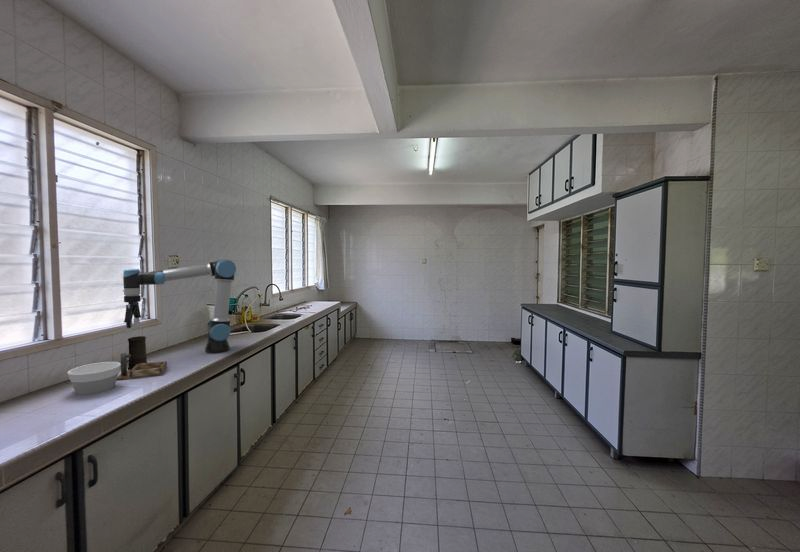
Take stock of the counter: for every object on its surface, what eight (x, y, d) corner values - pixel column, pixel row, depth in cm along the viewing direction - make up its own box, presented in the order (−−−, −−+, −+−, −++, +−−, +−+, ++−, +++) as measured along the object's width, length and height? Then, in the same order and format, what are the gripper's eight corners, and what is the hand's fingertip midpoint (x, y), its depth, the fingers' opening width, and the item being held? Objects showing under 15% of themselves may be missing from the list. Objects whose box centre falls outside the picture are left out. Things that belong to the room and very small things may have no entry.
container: (151, 365, 194) (150, 336, 194) (138, 370, 186) (137, 339, 185) (137, 365, 195) (137, 335, 195) (123, 369, 186) (122, 339, 186)
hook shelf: (166, 367, 191) (166, 345, 191) (161, 375, 179) (161, 352, 178) (123, 372, 182) (123, 349, 182) (115, 380, 170) (114, 356, 169)
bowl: (128, 386, 163) (127, 365, 162) (76, 400, 146) (75, 377, 146) (112, 379, 172) (112, 359, 172) (62, 391, 156) (61, 369, 155)
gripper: (131, 293, 199) (132, 327, 200) (116, 297, 176) (117, 336, 177) (146, 292, 202) (147, 326, 203) (133, 297, 180) (134, 334, 181)
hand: (133, 331), depth 190 cm, fingers open, 13 cm apart
